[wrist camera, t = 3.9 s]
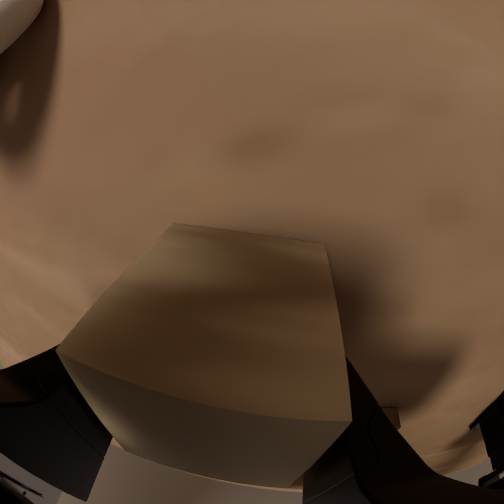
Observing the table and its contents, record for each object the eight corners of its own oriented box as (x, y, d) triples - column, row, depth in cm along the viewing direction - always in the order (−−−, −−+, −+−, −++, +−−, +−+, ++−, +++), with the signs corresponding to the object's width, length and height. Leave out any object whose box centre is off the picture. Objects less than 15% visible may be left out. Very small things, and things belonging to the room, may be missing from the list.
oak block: (324, 244, 8) (352, 421, 3) (296, 351, 11) (286, 488, 5) (173, 223, 9) (55, 350, 4) (181, 331, 11) (125, 450, 6)
